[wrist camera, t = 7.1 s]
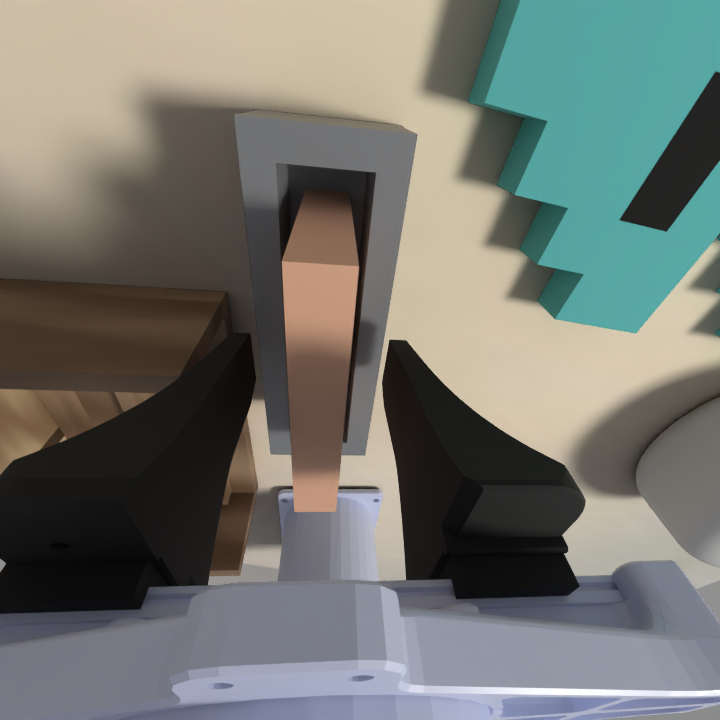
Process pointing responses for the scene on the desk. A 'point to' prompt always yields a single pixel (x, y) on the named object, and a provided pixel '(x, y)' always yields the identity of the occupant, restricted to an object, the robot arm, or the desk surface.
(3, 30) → the desk surface
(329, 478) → the salmon rectangular block
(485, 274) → the desk surface
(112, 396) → the rack
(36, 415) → the offcut
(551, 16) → the alien figure
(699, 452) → the donut shape
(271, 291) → the holder
